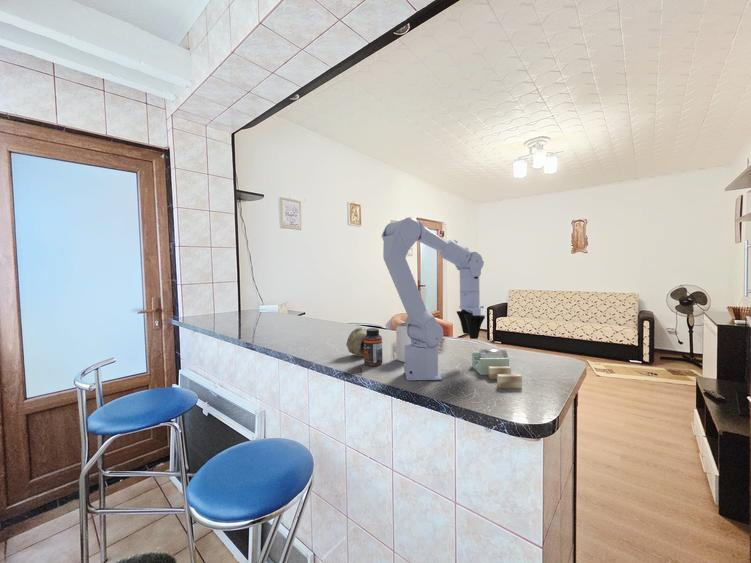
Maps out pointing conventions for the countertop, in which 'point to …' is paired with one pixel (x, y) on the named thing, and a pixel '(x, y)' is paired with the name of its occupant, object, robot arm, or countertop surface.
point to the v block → (486, 363)
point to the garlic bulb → (356, 342)
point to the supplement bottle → (373, 347)
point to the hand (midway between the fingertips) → (470, 335)
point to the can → (402, 341)
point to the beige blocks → (505, 377)
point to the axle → (493, 353)
